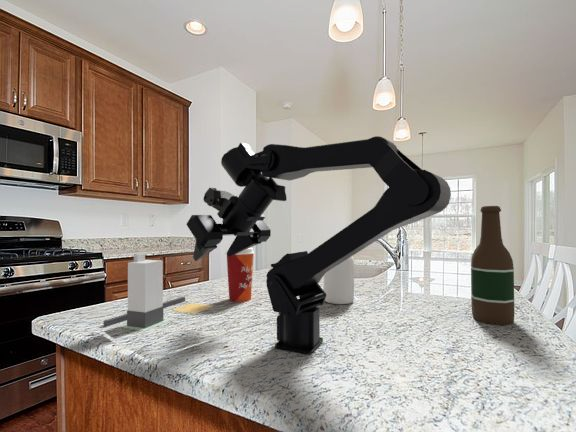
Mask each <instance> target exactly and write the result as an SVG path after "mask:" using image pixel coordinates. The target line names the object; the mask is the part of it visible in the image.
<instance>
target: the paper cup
mask: <svg viewBox="0 0 576 432" xmlns="http://www.w3.org/2000/svg"><path fill="white" fill-rule="evenodd" d="M229 248H230V247H228V248H226V252H225V254H226V266H227V267H226V269H227V283H228V298H229V299H228V300H229V301H230V302H233V303H234V302H235V303H242V302H243V303H245V302H249V301H251V299H252V292H253V291H252V289H253V288H252V287H253V273H254V272H253V270H254V269H253V268H254V254H255V251H254V248H253V247H250V248H248V249H246V250H244V251H241V252H239V253H237V254H235V255H233V256H231V257H229V256H228V255H227V252H228V250H229Z"/></svg>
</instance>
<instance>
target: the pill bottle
mask: <svg viewBox="0 0 576 432" xmlns="http://www.w3.org/2000/svg"><path fill="white" fill-rule="evenodd" d="M322 286H323V288H322V289H323V291H324V292H325V293H326V298H325V301H324V302H326V303H329V304H334V305H348V304H352V303H353V302H354V300H355V299H354V298H355V259H354V256H351V257H350V258H348V259H347V260H345V261H343V262H342V263H340V264H339V265H337V266H335V267H334V268H332V269H331V270H329V271H327V272H326V273H325V274H324V276H323V285H322Z"/></svg>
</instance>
